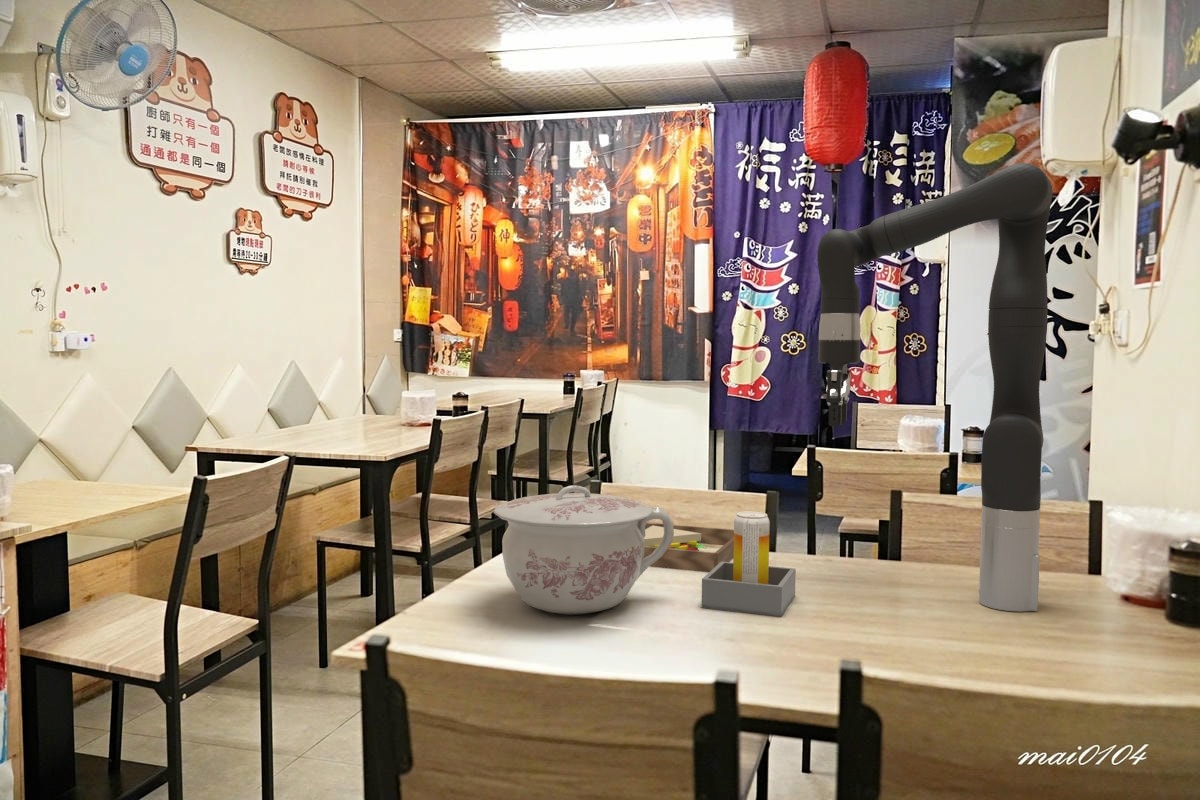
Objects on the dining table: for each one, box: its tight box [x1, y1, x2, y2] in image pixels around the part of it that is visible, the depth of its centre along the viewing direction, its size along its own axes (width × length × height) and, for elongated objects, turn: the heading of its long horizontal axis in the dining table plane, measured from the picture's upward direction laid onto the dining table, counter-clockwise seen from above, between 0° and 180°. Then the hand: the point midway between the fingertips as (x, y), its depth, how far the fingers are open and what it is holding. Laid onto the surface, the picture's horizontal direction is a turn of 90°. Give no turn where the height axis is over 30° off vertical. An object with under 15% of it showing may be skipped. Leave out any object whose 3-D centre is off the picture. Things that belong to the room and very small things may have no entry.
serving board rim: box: [643, 522, 734, 573], centre depth 197 cm, size 24×24×4 cm
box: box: [701, 561, 797, 618], centre depth 162 cm, size 14×14×5 cm
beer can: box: [732, 510, 771, 584], centre depth 161 cm, size 6×6×15 cm
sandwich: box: [644, 525, 708, 551], centre depth 197 cm, size 15×20×5 cm
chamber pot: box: [493, 484, 674, 616], centre depth 159 cm, size 28×28×21 cm
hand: (837, 424), depth 174 cm, fingers open, 8 cm apart
